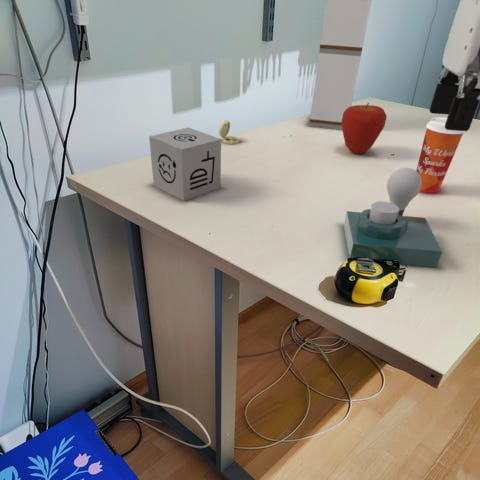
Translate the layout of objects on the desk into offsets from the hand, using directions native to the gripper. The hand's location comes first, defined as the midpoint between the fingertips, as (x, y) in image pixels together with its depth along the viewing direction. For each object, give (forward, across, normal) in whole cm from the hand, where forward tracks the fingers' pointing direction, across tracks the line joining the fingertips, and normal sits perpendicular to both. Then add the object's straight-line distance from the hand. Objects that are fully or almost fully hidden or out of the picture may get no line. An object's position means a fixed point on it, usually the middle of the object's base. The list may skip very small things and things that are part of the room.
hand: (447, 120), depth 62 cm
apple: (+20, +48, +4) cm, 52 cm away
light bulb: (+20, +8, +1) cm, 22 cm away
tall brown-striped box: (+20, +74, +10) cm, 77 cm away
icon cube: (+20, +16, +43) cm, 50 cm away
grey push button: (+15, -2, +6) cm, 17 cm away
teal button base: (+20, -2, +4) cm, 21 cm away
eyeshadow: (+20, +49, +38) cm, 65 cm away
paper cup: (+20, +26, -9) cm, 34 cm away
